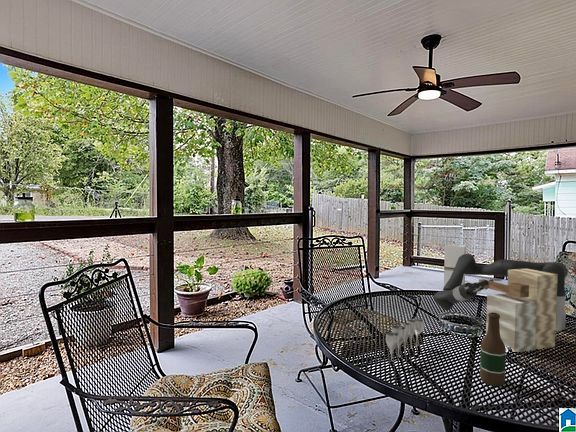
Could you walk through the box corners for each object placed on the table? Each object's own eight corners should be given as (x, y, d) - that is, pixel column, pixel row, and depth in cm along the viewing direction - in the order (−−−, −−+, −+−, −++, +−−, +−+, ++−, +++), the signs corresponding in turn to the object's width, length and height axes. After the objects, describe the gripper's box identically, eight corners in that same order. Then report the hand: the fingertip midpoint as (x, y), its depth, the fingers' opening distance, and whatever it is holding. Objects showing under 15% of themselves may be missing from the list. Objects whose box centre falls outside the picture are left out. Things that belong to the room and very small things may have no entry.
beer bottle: (474, 375, 128) (476, 310, 127) (495, 375, 129) (497, 309, 128) (488, 387, 121) (490, 317, 120) (510, 386, 121) (512, 316, 120)
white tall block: (464, 297, 236) (466, 245, 235) (462, 301, 227) (464, 247, 226) (446, 295, 242) (447, 244, 241) (443, 298, 233) (444, 245, 232)
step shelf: (524, 335, 169) (526, 268, 168) (554, 346, 156) (557, 274, 155) (485, 340, 161) (487, 271, 160) (514, 353, 148) (516, 277, 147)
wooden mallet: (485, 285, 172) (485, 274, 172) (528, 296, 151) (529, 285, 151) (477, 285, 170) (477, 275, 170) (520, 297, 149) (520, 286, 149)
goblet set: (395, 369, 133) (396, 334, 133) (381, 364, 137) (382, 330, 137) (426, 347, 153) (426, 317, 153) (413, 343, 157) (413, 314, 157)
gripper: (478, 298, 181) (504, 288, 167) (456, 300, 177) (481, 290, 162) (472, 284, 184) (498, 273, 170) (450, 285, 180) (475, 274, 165)
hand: (490, 281), depth 166 cm, fingers closed on wooden mallet, 3 cm apart
